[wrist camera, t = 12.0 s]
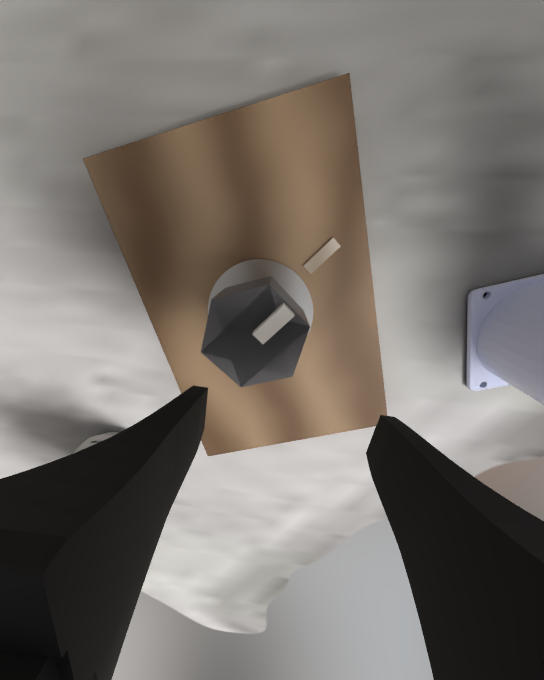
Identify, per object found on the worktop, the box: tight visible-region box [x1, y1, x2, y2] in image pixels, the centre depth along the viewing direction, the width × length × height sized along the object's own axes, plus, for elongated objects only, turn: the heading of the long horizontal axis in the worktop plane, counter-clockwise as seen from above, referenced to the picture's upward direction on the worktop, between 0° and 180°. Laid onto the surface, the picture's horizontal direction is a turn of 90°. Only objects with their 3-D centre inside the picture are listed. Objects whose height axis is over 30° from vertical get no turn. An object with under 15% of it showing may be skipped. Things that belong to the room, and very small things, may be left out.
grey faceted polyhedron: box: [201, 276, 310, 387], centre depth 14 cm, size 5×6×4 cm
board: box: [83, 73, 387, 456], centre depth 17 cm, size 15×22×2 cm
